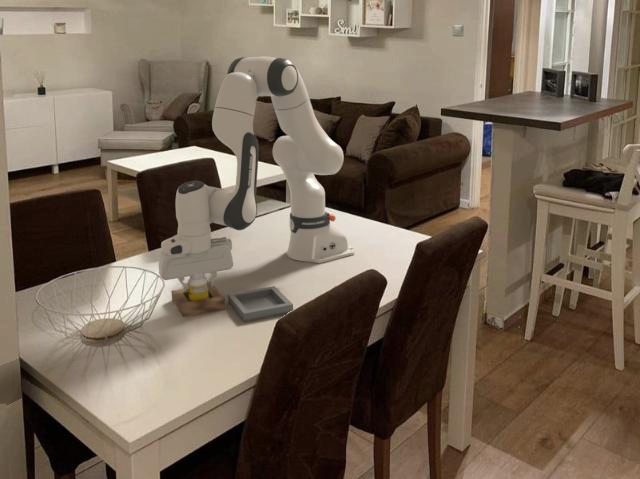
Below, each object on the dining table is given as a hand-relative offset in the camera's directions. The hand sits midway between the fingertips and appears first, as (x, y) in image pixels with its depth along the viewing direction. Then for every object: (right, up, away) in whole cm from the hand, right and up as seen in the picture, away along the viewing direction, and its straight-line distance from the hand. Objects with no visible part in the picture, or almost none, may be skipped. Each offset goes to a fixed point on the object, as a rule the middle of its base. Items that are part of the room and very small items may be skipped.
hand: (198, 288), depth 202 cm
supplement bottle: (0, -5, +2) cm, 5 cm away
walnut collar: (0, -5, +1) cm, 5 cm away
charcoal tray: (+17, -5, 0) cm, 18 cm away
